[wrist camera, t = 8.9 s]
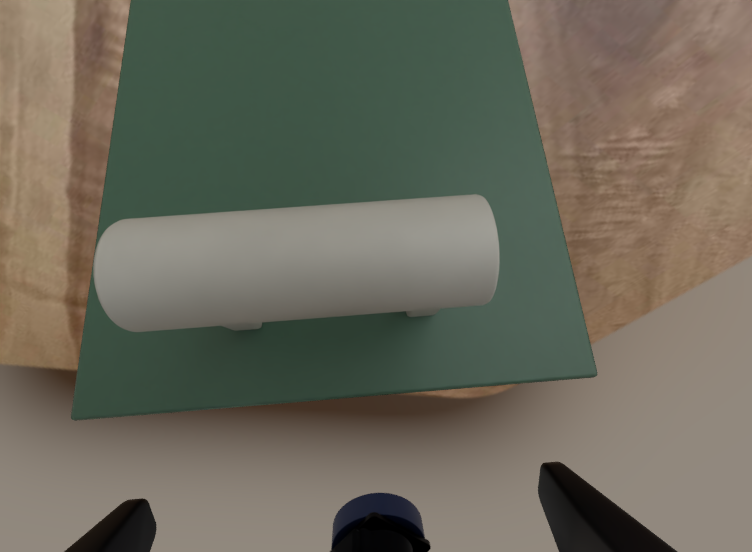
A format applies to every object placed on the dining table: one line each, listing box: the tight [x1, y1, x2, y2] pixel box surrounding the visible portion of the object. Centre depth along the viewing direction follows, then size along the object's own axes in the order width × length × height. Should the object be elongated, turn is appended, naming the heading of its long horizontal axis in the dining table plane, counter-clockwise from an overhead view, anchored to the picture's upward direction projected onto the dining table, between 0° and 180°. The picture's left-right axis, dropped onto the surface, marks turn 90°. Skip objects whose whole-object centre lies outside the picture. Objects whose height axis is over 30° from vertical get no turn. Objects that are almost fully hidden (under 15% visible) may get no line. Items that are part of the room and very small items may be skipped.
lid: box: [71, 0, 597, 420], centre depth 8 cm, size 12×12×5 cm
